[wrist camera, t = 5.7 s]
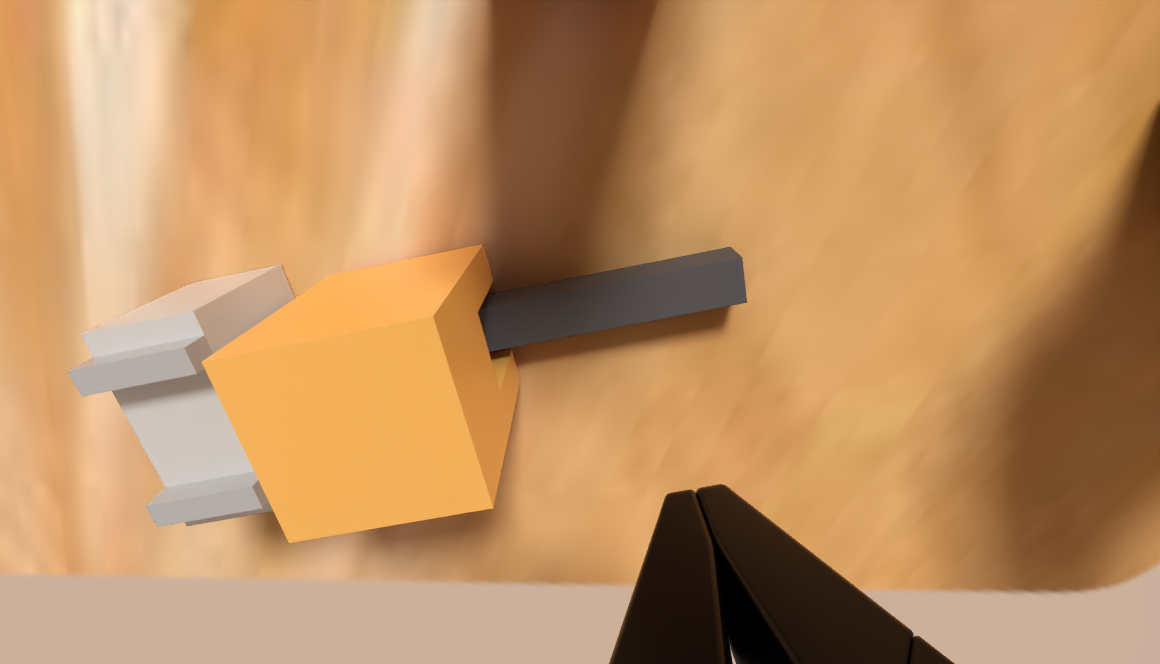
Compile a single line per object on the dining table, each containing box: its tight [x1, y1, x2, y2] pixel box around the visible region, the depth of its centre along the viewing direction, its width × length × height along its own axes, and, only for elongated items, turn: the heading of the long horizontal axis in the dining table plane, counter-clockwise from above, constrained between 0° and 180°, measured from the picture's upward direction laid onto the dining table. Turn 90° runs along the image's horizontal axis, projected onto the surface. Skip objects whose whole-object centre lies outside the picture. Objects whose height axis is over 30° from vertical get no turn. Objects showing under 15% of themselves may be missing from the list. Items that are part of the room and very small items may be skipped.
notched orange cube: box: [202, 244, 520, 543], centre depth 16 cm, size 5×5×7 cm
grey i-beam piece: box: [68, 264, 295, 527], centre depth 17 cm, size 3×6×5 cm, turn 11°
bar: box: [478, 247, 747, 352], centre depth 18 cm, size 17×1×1 cm, turn 102°
